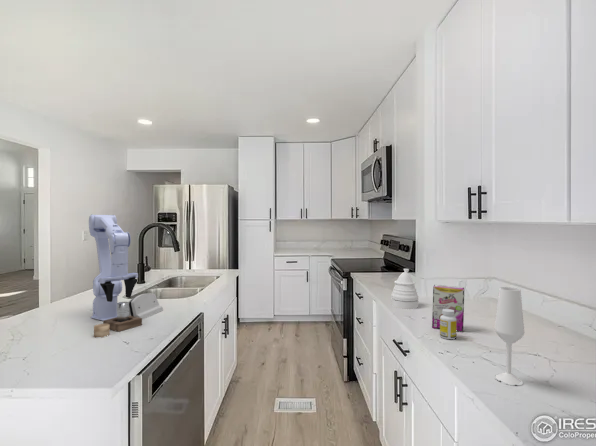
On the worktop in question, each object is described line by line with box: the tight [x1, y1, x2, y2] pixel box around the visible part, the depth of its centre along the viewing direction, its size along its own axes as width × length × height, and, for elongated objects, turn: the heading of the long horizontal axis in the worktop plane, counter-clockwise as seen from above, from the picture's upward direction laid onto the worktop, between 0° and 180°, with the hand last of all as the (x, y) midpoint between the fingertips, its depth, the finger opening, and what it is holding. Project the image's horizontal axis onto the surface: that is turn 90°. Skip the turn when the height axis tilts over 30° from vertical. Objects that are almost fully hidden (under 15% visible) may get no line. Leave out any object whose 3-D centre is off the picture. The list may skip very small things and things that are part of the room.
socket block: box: [102, 316, 143, 333], centre depth 130 cm, size 10×10×3 cm
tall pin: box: [117, 301, 129, 322], centre depth 130 cm, size 4×4×9 cm
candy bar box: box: [431, 284, 465, 332], centre depth 132 cm, size 11×5×16 cm, turn 65°
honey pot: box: [390, 268, 419, 310], centre depth 168 cm, size 13×13×18 cm
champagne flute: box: [494, 286, 525, 384], centre depth 89 cm, size 7×7×24 cm
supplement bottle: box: [439, 309, 457, 340], centre depth 122 cm, size 5×5×10 cm
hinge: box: [128, 292, 164, 321], centre depth 147 cm, size 17×5×10 cm, turn 169°
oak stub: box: [93, 323, 111, 338], centre depth 120 cm, size 5×5×4 cm
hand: (119, 299), depth 130 cm, fingers open, 7 cm apart
